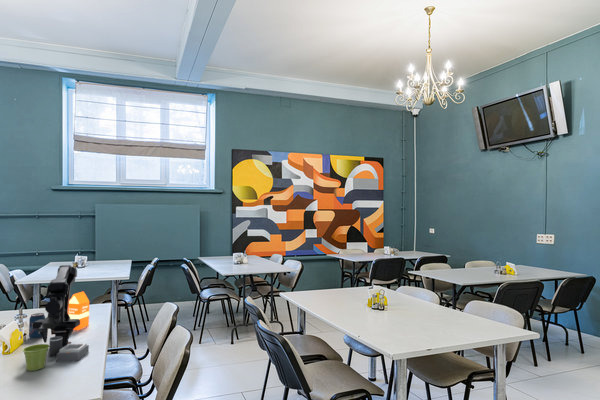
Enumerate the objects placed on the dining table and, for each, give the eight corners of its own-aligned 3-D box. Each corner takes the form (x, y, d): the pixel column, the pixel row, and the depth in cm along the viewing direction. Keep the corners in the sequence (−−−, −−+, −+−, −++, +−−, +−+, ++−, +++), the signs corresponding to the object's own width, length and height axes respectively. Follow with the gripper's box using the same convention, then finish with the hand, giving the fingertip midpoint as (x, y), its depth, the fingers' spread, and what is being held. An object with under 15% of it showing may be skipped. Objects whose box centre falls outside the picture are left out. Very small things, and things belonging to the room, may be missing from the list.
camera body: (68, 353, 182) (68, 342, 182) (88, 352, 183) (88, 342, 183) (56, 361, 171) (56, 351, 171) (77, 361, 172) (78, 350, 172)
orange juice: (88, 325, 227) (90, 291, 227) (78, 330, 218) (80, 294, 219) (76, 325, 227) (77, 290, 228) (65, 329, 219) (67, 293, 219)
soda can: (25, 338, 203) (26, 315, 203) (39, 334, 209) (40, 312, 209) (33, 340, 200) (34, 316, 200) (47, 336, 206) (48, 313, 206)
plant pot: (19, 374, 158) (20, 352, 158) (25, 366, 166) (25, 345, 167) (46, 370, 161) (47, 349, 162) (50, 362, 170) (51, 342, 170)
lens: (52, 353, 181) (53, 336, 182) (63, 353, 182) (64, 336, 182) (46, 357, 176) (47, 339, 176) (58, 357, 177) (59, 339, 177)
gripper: (25, 313, 171) (24, 348, 170) (70, 312, 173) (68, 347, 172) (39, 307, 182) (38, 340, 181) (81, 306, 184) (80, 339, 183)
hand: (55, 342), depth 179 cm, fingers open, 9 cm apart
